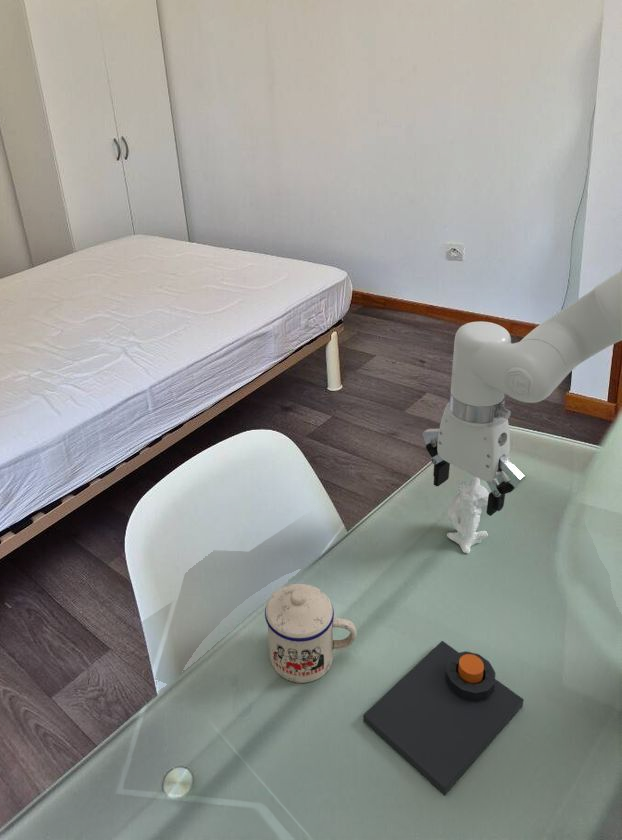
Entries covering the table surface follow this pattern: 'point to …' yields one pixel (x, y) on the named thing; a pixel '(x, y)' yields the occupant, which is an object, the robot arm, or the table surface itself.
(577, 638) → the table surface
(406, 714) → the black push button board
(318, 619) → the teacup with lid
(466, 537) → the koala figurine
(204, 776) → the table surface
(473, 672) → the button
